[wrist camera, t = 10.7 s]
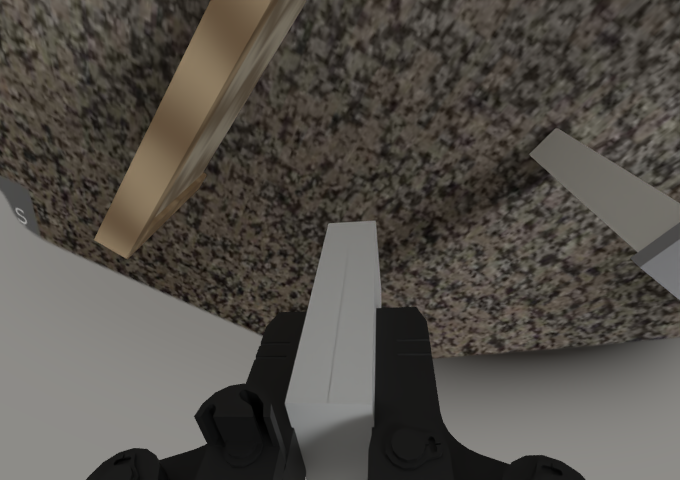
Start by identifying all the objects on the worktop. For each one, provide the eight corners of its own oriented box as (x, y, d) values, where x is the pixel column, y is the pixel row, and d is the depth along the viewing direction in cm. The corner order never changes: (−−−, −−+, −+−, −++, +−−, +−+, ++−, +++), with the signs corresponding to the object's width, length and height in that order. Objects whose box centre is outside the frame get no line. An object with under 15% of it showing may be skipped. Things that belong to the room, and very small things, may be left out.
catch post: (557, 120, 31) (717, 212, 16) (586, 146, 32) (764, 256, 17) (521, 155, 33) (639, 267, 18) (550, 179, 33) (685, 305, 19)
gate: (318, -75, 26) (279, -141, 15) (345, -51, 26) (325, -96, 15) (177, 175, 35) (91, 244, 25) (198, 189, 36) (123, 262, 25)
